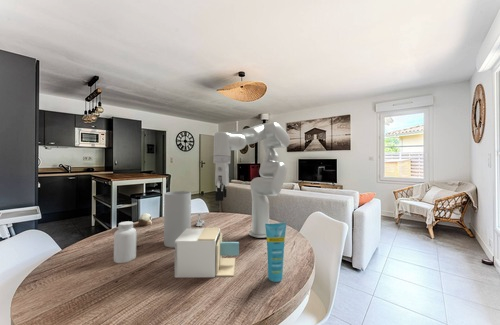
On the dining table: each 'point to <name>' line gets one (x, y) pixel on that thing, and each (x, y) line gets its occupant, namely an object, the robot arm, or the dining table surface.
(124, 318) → the dining table surface
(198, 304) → the dining table surface
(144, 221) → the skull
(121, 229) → the pill bottle
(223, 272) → the carton
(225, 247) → the door
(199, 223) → the house of cards
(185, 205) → the cylinder vase
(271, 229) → the tube
